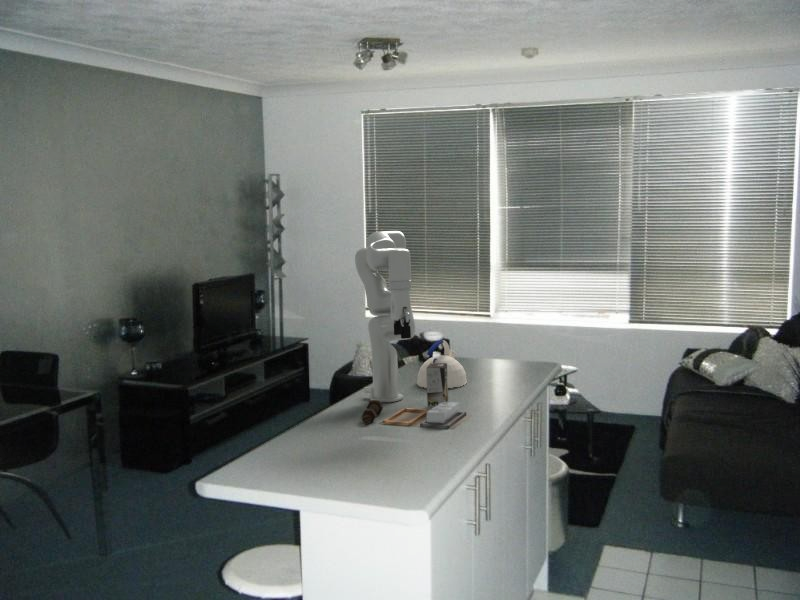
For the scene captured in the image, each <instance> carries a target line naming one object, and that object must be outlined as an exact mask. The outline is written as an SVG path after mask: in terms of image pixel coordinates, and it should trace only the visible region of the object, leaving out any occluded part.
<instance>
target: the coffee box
mask: <svg viewBox="0 0 800 600" xmlns="http://www.w3.org/2000/svg"><path fill="white" fill-rule="evenodd" d="M426 372H427V388H426V403H427V404H426V406H427V410H431V409H432V408H434V407H435V406H437V405H438V404H440V403H441V402H449V389H448V377H447V363H435V364H432V363H430V364H429V365H428V367H427V368H426Z"/></svg>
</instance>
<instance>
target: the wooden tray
mask: <svg viewBox="0 0 800 600" xmlns="http://www.w3.org/2000/svg"><path fill="white" fill-rule="evenodd" d="M428 411H429V410H428V409H425V408H424V409H422V408H413V407H411V408H410V407H409V408H408V407H404V408H401V410H398V411H397V412H394V413H393V414H391V415H390V416H388V417H387V418H385V419H383V420H382V421H380V422H379V423H378V424H379V425H387V426H389V425H390V426H403V427H417V428H418V427H419V428H428V429H442V430H454V429H455V428H457V427H458V426H460V425H461V424H463V422H465V421H466V420H468V419H469V418H470V417H471V416H472V415H471V414H467V411H460V415H459V416H458V417H457V418H455V419H454V420H453V421H451V422H450V423H449V424H447V425H442V424H428V423H427V412H428Z"/></svg>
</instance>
